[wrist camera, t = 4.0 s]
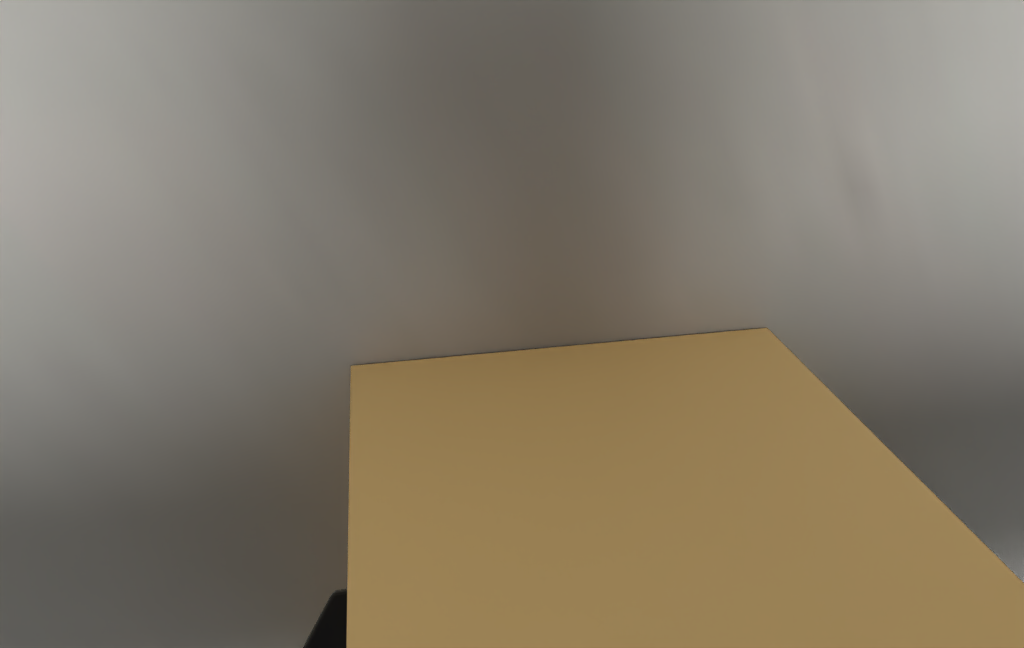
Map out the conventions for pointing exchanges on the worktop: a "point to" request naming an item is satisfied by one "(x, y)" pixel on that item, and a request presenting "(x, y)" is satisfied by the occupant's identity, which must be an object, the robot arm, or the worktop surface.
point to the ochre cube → (648, 508)
